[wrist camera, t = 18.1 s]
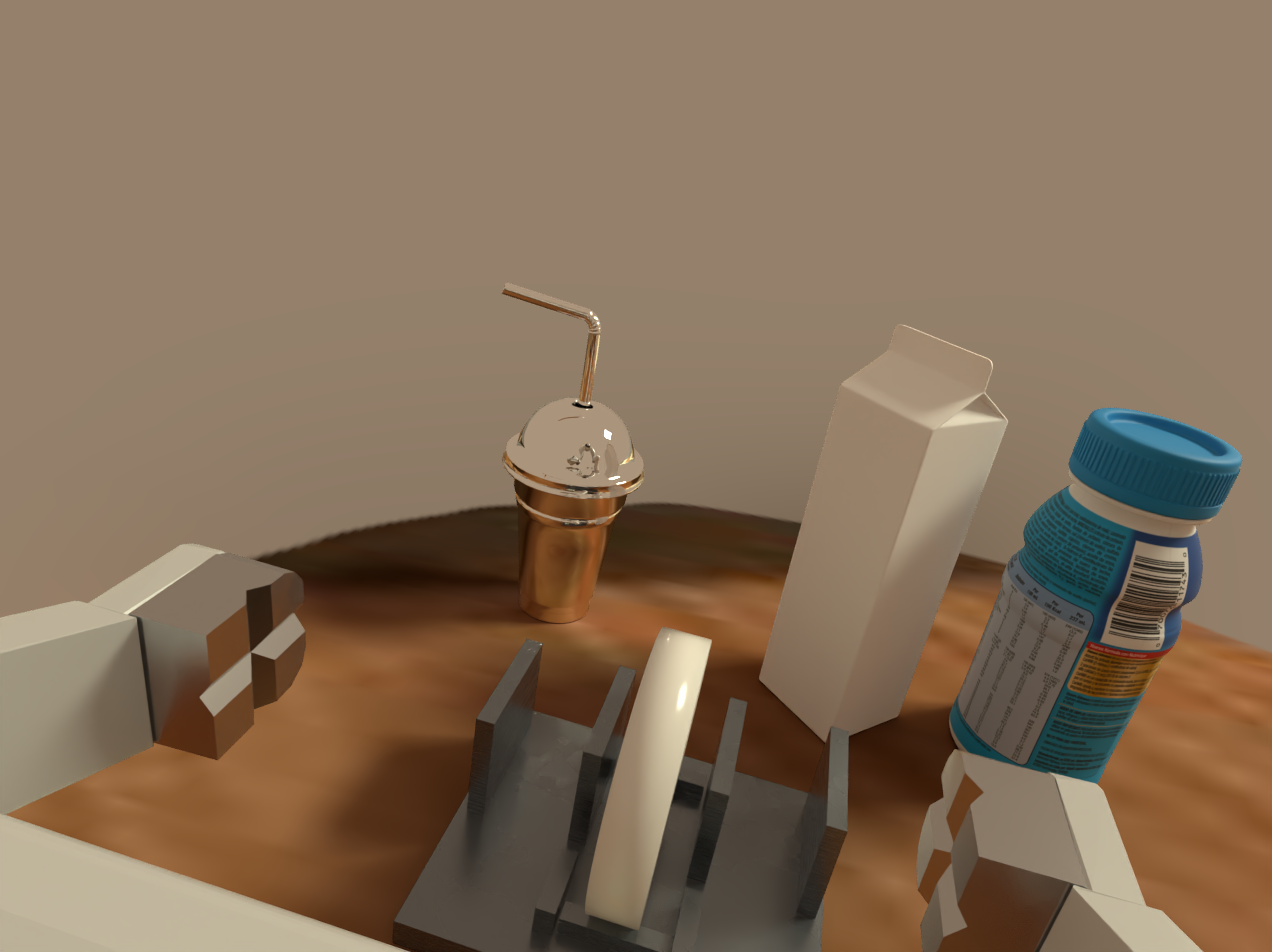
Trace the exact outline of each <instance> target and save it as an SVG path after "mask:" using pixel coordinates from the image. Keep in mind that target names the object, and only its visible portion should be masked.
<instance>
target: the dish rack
mask: <svg viewBox="0 0 1272 952" xmlns="http://www.w3.org/2000/svg"><path fill="white" fill-rule="evenodd" d="M542 645H543V643H539V642H536V641H532V640H529V639H527V640H526V641H525V643H524V644H523V646H522V647H521V649H520V651H519V652H518V654H517V655H516V657H515V659H514V660H513V662H512V663H511V665H510V666H509V668H508V670H507V671H506V673H505V674H504V676H503V677H502V679H501V681H500V682H499V684H498V685H497V687H496V688H495V690H494V692H493V693H492V695H491V696H490V698H489V700H488V701H487V703H486V704H485V706H484V707H483V709H482V711H481V712H480V714H479V715H478V717H477V718H476V727H475V736H474V746H473V755H472V765H471V774H470V784H469V792H468V793H467V795H466V797H465V798H464V800H463V802H462V804H461V805H460V807H459V809H458V811H457V812H456V814H455V816H454V818H453V819H452V821H451V823H450V824H449V826H448V828H447V830H446V831H445V833H444V835H443V837H442V838H441V840H440V842H439V844H438V845H437V847H436V849H435V850H434V852H433V854H432V856H431V857H430V859H429V861H428V863H427V864H426V866H425V868H424V870H423V871H422V873H421V875H420V876H419V878H418V880H417V882H416V883H415V885H414V887H413V889H412V890H411V892H410V894H409V896H408V897H407V899H406V901H405V902H404V904H403V906H402V908H401V909H400V911H399V913H398V915H397V916H396V918H395V920H394V926H393V943H396V944H399V945H402V946H405V947H408V948H410V949H413V950H416V951H419V952H821V942H822V919H823V896H824V894H825V891H826V888H827V885H828V883H829V880H830V877H831V875H832V872H833V869H834V866H835V864H836V861H837V858H838V856H839V853H840V850H841V847H842V845H843V842H844V839H845V836H846V834H847V817H848V740H849V731H847V730H843V729H840V728H836V727H833V726H831V727H830V730H829V733H828V736H827V739H826V742H825V745H824V748H823V751H822V754H821V757H820V760H819V763H818V767H817V770H816V773H815V776H814V779H813V782H812V785H811V788H810V791H809V793H807V792H804V791H800V790H797V789H794V788H790V787H787V786H784V785H780V784H777V783H773V782H770V781H767V780H763V779H760V778H757V777H753V776H750V775H747V774H743V773H740V772H737V771H735V766H736V761H737V756H738V750H739V745H740V740H741V734H742V729H743V723H744V718H745V713H746V707H747V702H745V701H742V700H738V699H735V698H731V697H730V701H729V705H728V708H727V712H726V716H725V720H724V724H723V727H722V731H721V735H720V739H719V743H718V746H717V750H716V754H715V758H714V762H713V764H710V763H707V762H703V761H700V760H697V759H693V758H690V757H687V756H684V758H683V762H682V766H681V770H680V774H679V778H678V782H677V786H676V790H675V794H674V798H673V802H672V806H671V810H670V814H669V818H668V822H667V825H666V829H665V833H664V837H663V841H662V845H661V849H660V853H659V857H658V861H657V865H656V868H655V872H654V876H653V880H652V884H651V888H650V892H649V895H648V899H647V903H646V907H645V911H644V914H643V918H642V922H641V925H640V929H639V931H637V930H634V929H631V928H628V927H625V926H622V925H619V924H616V923H613V922H610V921H607V920H604V919H601V918H597V917H594V916H591V915H588V914H586V913H585V902H586V895H587V889H588V883H589V878H590V873H591V868H592V863H593V858H594V854H595V849H596V845H597V840H598V836H599V832H600V828H601V824H602V819H603V815H604V811H605V807H606V803H607V799H608V796H609V792H610V788H611V784H612V780H613V776H614V773H615V769H616V765H617V762H618V758H619V754H620V751H621V747H622V744H623V740H624V738H623V735H624V730H625V725H626V720H627V715H628V710H629V705H630V700H631V695H632V690H633V685H634V680H635V675H636V670H634V669H630V668H627V667H623V666H620V667H619V669H618V672H617V674H616V676H615V679H614V681H613V683H612V686H611V688H610V690H609V693H608V695H607V697H606V700H605V702H604V704H603V706H602V709H601V711H600V713H599V716H598V718H597V720H596V723H595V725H594V727H593V728H590V727H587V726H583V725H580V724H577V723H573V722H570V721H567V720H563V719H560V718H556V717H553V716H550V715H546V714H543V713H540V712H536V711H533V709H534V702H535V695H536V688H537V681H538V674H539V666H540V659H541V652H542Z"/></svg>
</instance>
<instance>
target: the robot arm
mask: <svg viewBox="0 0 1272 952" xmlns="http://www.w3.org/2000/svg"><path fill="white" fill-rule="evenodd" d="M303 603H304V590H303V580H302V579H301V578H300V577H299V576H298V575H297V574H296V573H295V572H293V571H289V570H286V569H282V568H279V567H276V566H272V565H269V564H265V563H262V562H258V561H255V560H252V559H248V558H245V557H241V556H238V555H235V554H231V553H225V552H223V551H220V550H216V549H212V548H209V547H205V546H202V545H198V544H182V545H180V546H178V547H177V548H175V549H174V550H172V551H171V552H169V553H167V554H166V555H164V556H162V557H161V558H159V559H158V560H156V561H154V562H153V563H151V564H150V565H148V566H146V567H145V568H143V569H142V570H140V571H139V572H137V573H135V574H134V575H132V576H131V577H129V578H127V579H126V580H124V581H123V582H121V583H119V584H118V585H116V586H115V587H113V588H111V589H110V590H108V591H107V592H105V593H104V594H102V595H100V596H99V597H97V598H96V599H94V600H93V601H91V602H89V603H84V602H80V601H72V602H68V603H64V604H59V605H55V606H50V607H46V608H41V609H37V610H32V611H28V612H23V613H19V614H15V615H10V616H6V617H1V618H0V952H409V951H406V950H403V949H400V948H397V947H394V946H392V945H389V944H386V943H383V942H380V941H377V940H374V939H371V938H368V937H365V936H362V935H359V934H356V933H353V932H350V931H347V930H344V929H341V928H338V927H335V926H332V925H329V924H326V923H323V922H320V921H317V920H314V919H312V918H309V917H306V916H303V915H300V914H297V913H294V912H291V911H288V910H285V909H282V908H279V907H276V906H273V905H270V904H267V903H264V902H261V901H258V900H255V899H252V898H249V897H246V896H243V895H240V894H238V893H235V892H232V891H229V890H226V889H223V888H220V887H217V886H214V885H211V884H208V883H205V882H202V881H199V880H196V879H193V878H190V877H187V876H184V875H181V874H178V873H175V872H172V871H169V870H166V869H163V868H161V867H158V866H155V865H152V864H149V863H146V862H143V861H140V860H137V859H134V858H131V857H128V856H125V855H122V854H119V853H116V852H113V851H110V850H107V849H104V848H101V847H98V846H95V845H92V844H89V843H87V842H84V841H81V840H78V839H75V838H72V837H69V836H66V835H63V834H60V833H57V832H54V831H51V830H48V829H45V828H42V827H39V826H36V825H33V824H30V823H27V822H24V821H21V820H18V819H15V818H12V817H10V816H7V815H6V814H8V813H10V812H12V811H14V810H17V809H19V808H21V807H23V806H25V805H27V804H30V803H32V802H34V801H36V800H38V799H40V798H43V797H45V796H47V795H49V794H51V793H53V792H56V791H58V790H60V789H62V788H64V787H66V786H69V785H71V784H73V783H75V782H77V781H79V780H82V779H84V778H86V777H88V776H90V775H92V774H95V773H97V772H99V771H101V770H103V769H105V768H108V767H110V766H112V765H114V764H116V763H118V762H121V761H123V760H125V759H127V758H129V757H131V756H134V755H136V754H138V753H140V752H142V751H144V750H147V749H149V748H151V747H153V745H154V744H153V743H157V744H161V745H164V746H168V747H171V748H175V749H179V750H182V751H186V752H189V753H193V754H197V755H200V756H204V757H207V758H211V759H215V760H219V759H220V758H221V757H222V756H223V755H224V754H225V753H226V752H227V751H228V750H229V749H230V748H231V747H232V746H233V745H234V744H235V743H236V742H237V741H238V740H239V739H240V738H241V737H242V736H243V735H244V734H245V733H246V732H247V731H248V730H249V729H250V728H251V727H252V726H253V725H254V709H256V708H259V707H262V706H264V705H267V704H270V703H273V702H275V701H277V700H278V699H279V698H280V697H281V696H282V695H283V694H284V693H285V692H286V691H287V690H288V689H289V688H290V686H291V685H292V683H293V681H294V679H295V677H296V675H297V673H298V671H299V670H300V668H301V666H302V662H303V657H304V652H305V648H306V641H305V630H304V628H303V627H302V625H301V623H300V622H299V620H298V619H297V617H296V616H295V614H294V613H295V612H296V611H297V610H298V608H299V607H300V606H301V605H302V604H303ZM941 777H942V786H943V795H944V798H942V799H940V800H938V801H936V802H935V803H933V804H931V805H930V806H929V809H928V812H927V815H926V818H925V821H924V824H923V826H922V831H921V836H920V841H919V846H918V852H917V885H918V891H919V892H920V894H921V895H922V896H923V898H924V899H925V901H926V902H927V903H928V907H927V910H926V912H925V915H924V917H923V920H922V922H921V925H920V926H921V938H922V950H923V952H1203V951H1202V950H1201V949H1200V948H1199V947H1198V946H1197V945H1196V944H1195V943H1194V942H1193V941H1192V940H1191V939H1190V938H1189V937H1188V936H1187V935H1186V934H1185V933H1184V932H1183V931H1182V930H1181V929H1180V928H1179V927H1178V926H1177V925H1176V924H1175V923H1174V922H1173V921H1171V920H1170V919H1169V918H1168V917H1167V916H1166V915H1165V914H1164V913H1163V912H1162V911H1161V910H1157V909H1154V908H1151V907H1147V906H1146V904H1145V901H1144V899H1143V896H1142V893H1141V891H1140V888H1139V885H1138V882H1137V880H1136V877H1135V874H1134V872H1133V869H1132V866H1131V864H1130V861H1129V858H1128V856H1127V853H1126V850H1125V848H1124V845H1123V842H1122V840H1121V837H1120V834H1119V831H1118V829H1117V826H1116V823H1115V821H1114V818H1113V815H1112V813H1111V810H1110V807H1109V805H1108V802H1107V799H1106V797H1105V794H1104V791H1103V790H1102V789H1101V788H1100V787H1099V786H1098V785H1097V784H1096V783H1092V782H1088V781H1084V780H1079V779H1075V778H1071V777H1067V776H1063V775H1059V774H1054V773H1050V772H1048V773H1044V772H1040V771H1036V770H1032V769H1029V768H1025V767H1021V766H1017V765H1013V764H1010V763H1006V762H1002V761H998V760H994V759H991V758H987V757H983V756H979V755H975V754H972V753H968V752H964V751H960V750H956V749H955V750H954V751H953V753H952V754H951V755H950V757H949V758H948V760H947V763H946V765H945V768H944V770H943V773H942V775H941Z"/></svg>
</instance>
